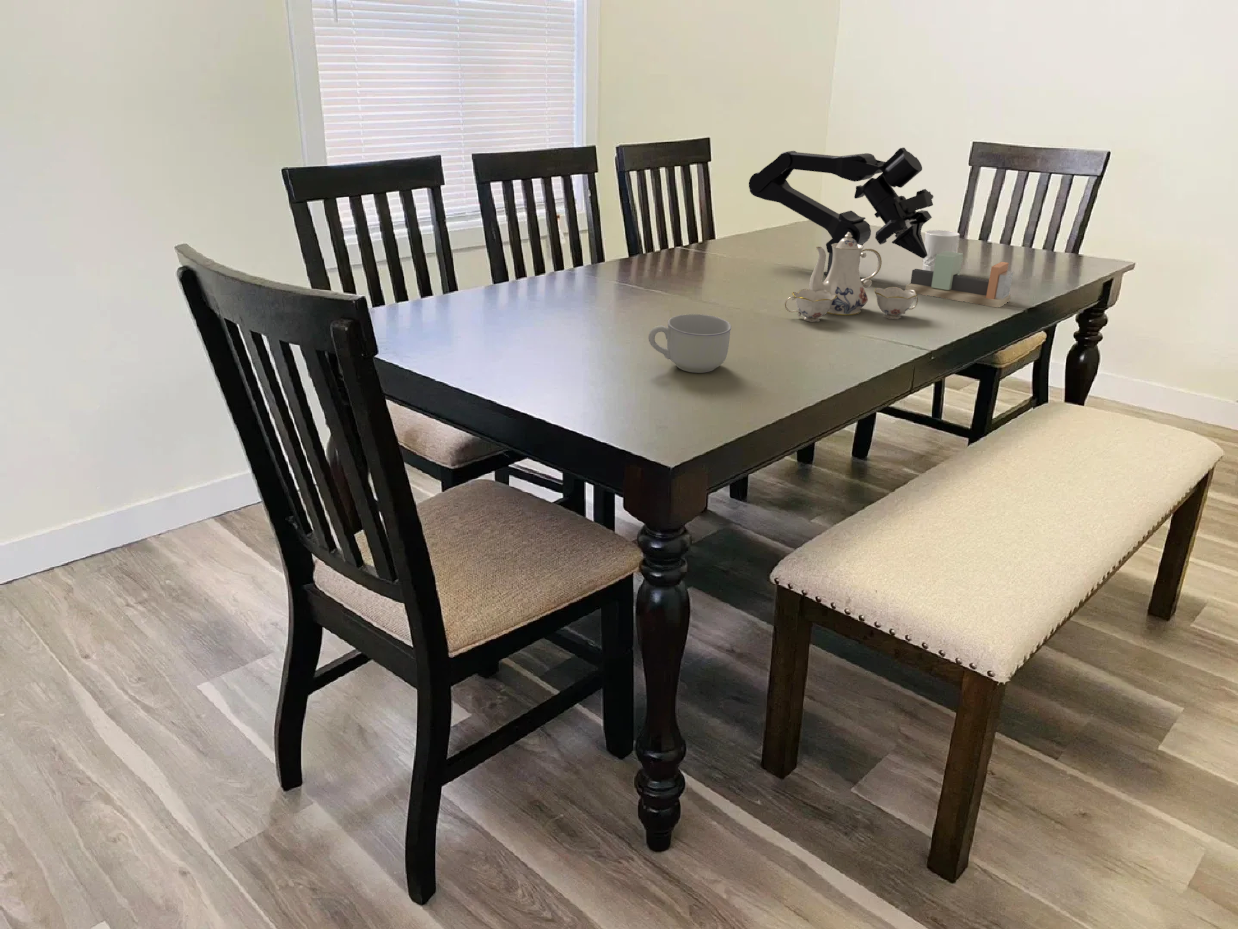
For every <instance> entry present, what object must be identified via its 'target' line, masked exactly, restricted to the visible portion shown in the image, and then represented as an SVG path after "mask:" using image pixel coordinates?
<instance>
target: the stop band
mask: <svg viewBox="0 0 1238 929" xmlns="http://www.w3.org/2000/svg"><path fill="white" fill-rule="evenodd" d="M1009 264H1010V263H1009V262H1004V261H1000V262H998V263H995V264H994V265H992V266H991V268H990V274H989V279H988V280H989V284H988V289H987V295H986V298H988V299H995V296H996V291H997V286H998V280H999V275H1000V274H1002V273H1004V272H1006V271H1009V270H1008V269H1009Z"/></svg>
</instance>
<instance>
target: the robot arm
mask: <svg viewBox="0 0 1238 929" xmlns="http://www.w3.org/2000/svg"><path fill="white" fill-rule="evenodd" d="M794 170H796V171H805V172H806V171H807V172H817V173H825V174H832V175H835V176H837V177H839V178H841V179H844V180H847V181H850V182H854V183H855V182H860V181H866V180H867V181H866V182H865V183H863V184H862V185H861V184H860V185H856V186H855V192H854V197H853V198H854V199H860V198H863V197H865V198H866V200H867V201H868V202H869V204H870V205H871V206H872V208H873V209H874V210H875V213H874V216H875V218H880V219H881V220H882V222H883V223H884V225H883V226H882V227H880V228H879V229H878V230H877V231H876V232H875V237H874V238H875V240H876V241H877V243H878V244H879V245H883V244H886V243H887V241H888V239H889V238H891V237H892V236H893V235H894V237H895V239H894V240H893V241H891V243H892V244H894V245H896V246H898V247H900V248H903V249H904V250H906V251H908V252H910V253H912V254H914V255H915V256H917V257H919V258H921V259H923V258H925V257H926V256H927V252H926V249H925V246H924V240H923V237H922V232H921V231H922V228H923V226H924V225H925V224H926V223H927V222H929V221H930V220H931V219H932V218H933V217H932V215H931V214H930V212H929V211H928V210H923V209H925V208H930V207H932V206H934V204H933V199H934V195H933V194H932V193H931V191H928V189H926V188H924V189H923V188H922V189H920V190H918V191H916V194H915V196H911V197H909V198H906V197H905V196H904V195H898V193H897V192H896V191H895V189H894V188H896V187H897V188H898V189H899V188H900V189H901V188H903V187H905V185H906V184H908V183H909V182H910V181H911V180H912V179H913V178H915V177H916V176H917V175H918V174H919V173H921V172H922V171H923V166H922V163H921V162H920V159H918V157H917V156H914V154H913V153H911V152H910V151H908V150H907V149H906V147H900V148H898V149H897V150H896V151H895V153H894V154H893V155H892V156H891V157H890V158H888V159H887V160H885V161H882V160H880V159H876V157H875V155H874V154H871V153H867V152H866V153H856V154H848V155H831V154H830V155H828V154H818V153H808V152H798V151H796V150H789V151H783V152H781V153H780V154H779V155H778V156H776V158H775V159H774V160H773V161H771V162H770V163H769V164H768V165H766V166H765V167H763V168H762V169H761V170H760V171H759V172H755V173H753V174H752V175H751V176H750V178H749V180H748V189H749V193H750V194H751V195H752V196H753V197H757V198H759V199H762V200H764V201H769V202H775V203H779V204H780V205H782V206H784V207H786V208H788V209H790V210H791V211H793V212H794V213H797V214H798V215H800V216H802V217H804V218H806V219H807V220H809V221H810V222H813V224H816V225H818V226H820V227H821V228H823V229H825V230H826V232H828V233H829V234H828V235H830V237H831V239H830V240H829V241H827V242H826V244H825V247H826V251H827V253H828V260H827V268H826V269H827V270H826V271H825V272H824V271H823V276H826V277H827V276H828V273H829V271H830V268H831V265H832V259H833V249H832V246H831V245H832V244H834V243H839V241H840V240H841V239H843V238H846V237H845V235H846V234H847V233H848V232H850V233H851V235H852V237H851V238H852V239H855V240H856V242H857V244H859V245H862V246H863V245H864V244H866V243H867V242H868V241H869V239H870V238H871V235H872V229H871V225H870V224H869V222H868V221H866V217H864V216H860V215H858V214H857V213H855V211H853V210H847V211H844V212H840V213H838V212H836V211H834V209H833V210H832V209H831V208H829V207H828V206H825V205H823V204H822V203H820V202H818V201H817V200H815V199H813V198H811V197H810V196H808V195H806V194H804V193H802V192H801V191H799V190H797V189H795V188H794V187H792V186H791V185H790V183H789V182H788V180H787V179H789V176H790V175H791V174H792V173H793V171H794ZM877 174H879V175H878V176H877V177H876V178H875V177H874V176H875V175H877ZM860 262H861V259H860V260H859V264H860Z"/></svg>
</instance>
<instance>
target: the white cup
mask: <svg viewBox="0 0 1238 929" xmlns="http://www.w3.org/2000/svg"><path fill="white" fill-rule="evenodd" d="M959 239H960V233H959V232H956V231H951V230H943V229H933V230H932V229H930V230H929V229H928V230H927V231H925V234H924V241H923V243H924V246H925V249H926V252H927V256H926V257H925V258H922V269H921V270H927V271H934V266H935V260H936V255H937V254H940V253H942V252H945V251H949V252H956V253H957V250H958V245H959V242H960V241H959Z"/></svg>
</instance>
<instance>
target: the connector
mask: <svg viewBox="0 0 1238 929" xmlns="http://www.w3.org/2000/svg"><path fill="white" fill-rule="evenodd" d="M1013 275H1014V271H1009V270H1007V271H1006V272H1004V273H1002V274H1000V275H999V280H998V286H997V291H996V296H995V299H1000V300H1002V299H1004V298H1006V297H1007V296H1009V295H1010V291H1011V286H1012V280H1013Z"/></svg>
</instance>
